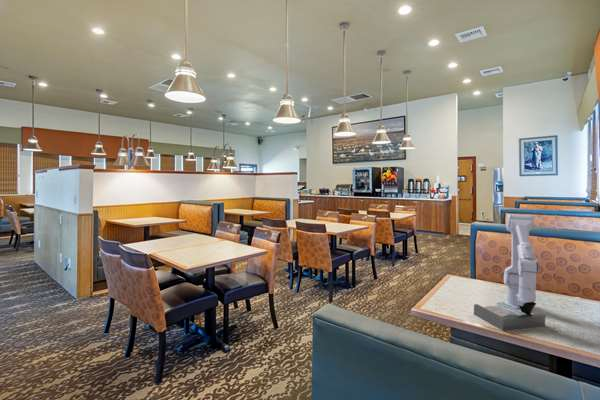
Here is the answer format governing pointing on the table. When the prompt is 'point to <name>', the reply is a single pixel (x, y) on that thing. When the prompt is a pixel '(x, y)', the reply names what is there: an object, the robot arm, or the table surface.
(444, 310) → the table surface
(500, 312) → the stone block
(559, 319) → the table surface
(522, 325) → the frame
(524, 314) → the sliding jaw
